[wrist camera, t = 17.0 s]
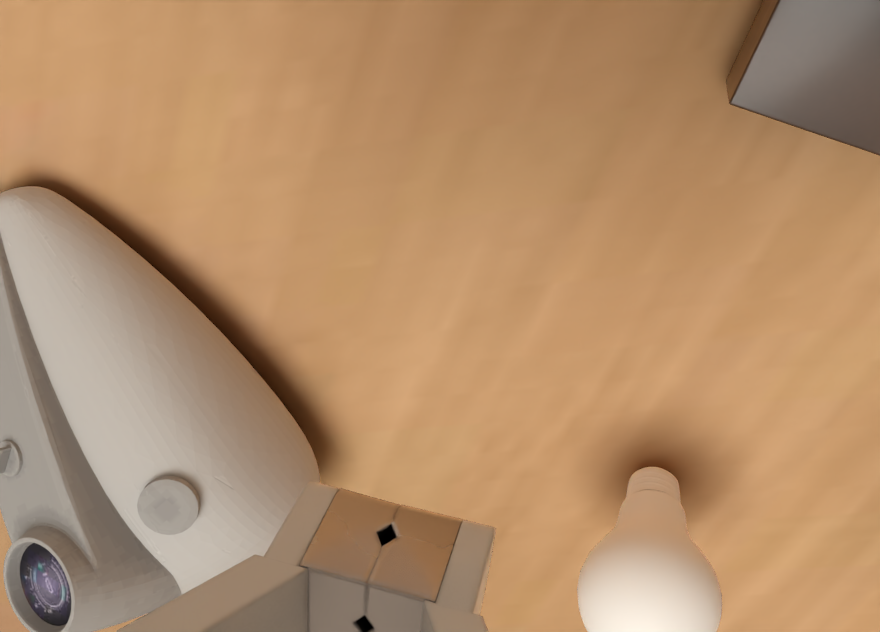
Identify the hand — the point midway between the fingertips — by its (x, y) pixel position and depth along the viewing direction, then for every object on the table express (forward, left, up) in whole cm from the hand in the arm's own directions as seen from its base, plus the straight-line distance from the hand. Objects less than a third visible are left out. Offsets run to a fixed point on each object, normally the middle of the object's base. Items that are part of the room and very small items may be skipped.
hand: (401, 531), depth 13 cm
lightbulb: (+13, +16, -25) cm, 33 cm away
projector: (+28, -9, -25) cm, 39 cm away
